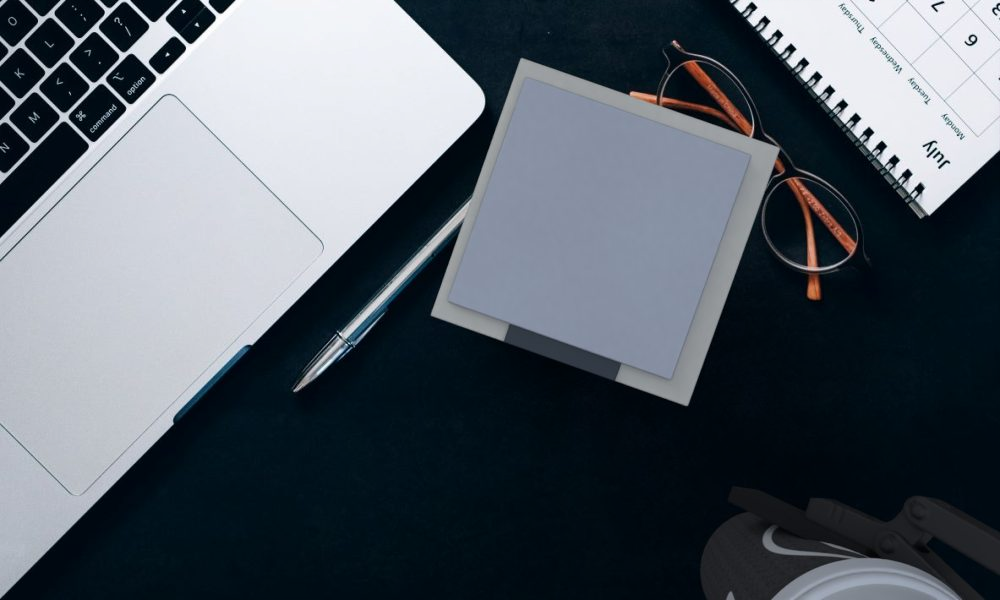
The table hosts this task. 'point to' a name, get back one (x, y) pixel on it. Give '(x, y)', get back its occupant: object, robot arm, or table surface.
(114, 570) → the table surface
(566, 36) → the table surface
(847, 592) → the coffee cup
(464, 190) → the table surface
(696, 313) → the scale
